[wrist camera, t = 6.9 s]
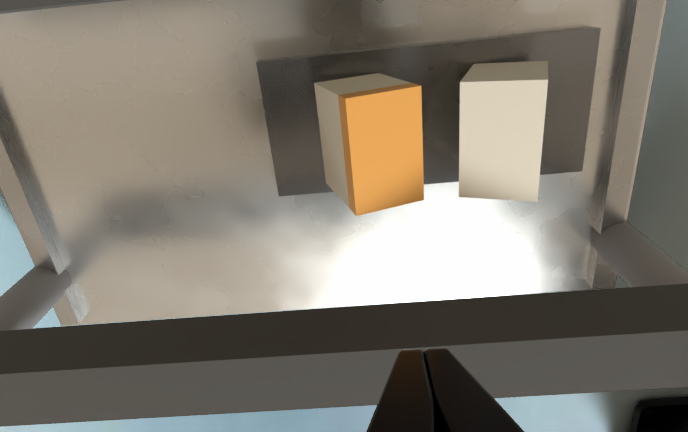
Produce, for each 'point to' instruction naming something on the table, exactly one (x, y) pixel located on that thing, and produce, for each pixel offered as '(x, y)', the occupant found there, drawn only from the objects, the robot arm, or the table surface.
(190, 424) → the table surface
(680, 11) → the table surface
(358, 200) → the paddle
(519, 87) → the paddle on
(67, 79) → the panel
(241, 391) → the gray bar rack
